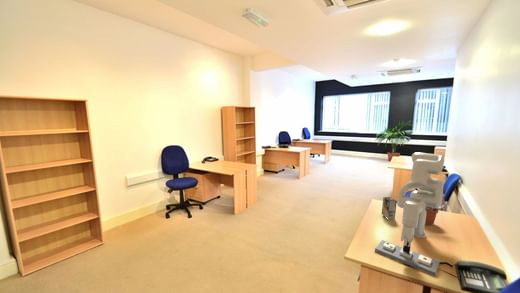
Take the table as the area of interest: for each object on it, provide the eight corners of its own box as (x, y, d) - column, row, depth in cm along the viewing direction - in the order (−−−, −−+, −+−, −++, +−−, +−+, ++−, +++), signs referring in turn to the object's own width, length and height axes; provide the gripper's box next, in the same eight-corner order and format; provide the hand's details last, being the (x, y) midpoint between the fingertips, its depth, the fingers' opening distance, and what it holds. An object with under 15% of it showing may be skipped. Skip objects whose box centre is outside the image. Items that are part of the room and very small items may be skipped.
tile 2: (385, 246, 143) (385, 241, 142) (395, 250, 139) (395, 245, 138) (382, 250, 139) (383, 245, 138) (392, 254, 135) (393, 248, 134)
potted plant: (417, 216, 189) (422, 176, 185) (439, 223, 177) (445, 181, 172) (409, 220, 181) (414, 179, 176) (431, 228, 168) (437, 184, 163)
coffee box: (395, 219, 182) (397, 200, 180) (387, 219, 182) (389, 201, 179) (388, 214, 191) (389, 196, 189) (381, 214, 191) (382, 197, 188)
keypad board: (382, 242, 148) (382, 239, 148) (439, 264, 127) (439, 261, 127) (374, 251, 138) (375, 248, 138) (435, 276, 117) (435, 272, 117)
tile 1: (419, 260, 130) (419, 254, 129) (431, 264, 126) (431, 258, 126) (417, 264, 126) (417, 258, 126) (429, 269, 122) (430, 263, 122)
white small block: (401, 253, 136) (402, 247, 136) (412, 257, 132) (413, 251, 132) (399, 257, 132) (399, 251, 132) (410, 261, 128) (410, 255, 128)
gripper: (405, 216, 137) (402, 244, 139) (398, 224, 127) (395, 254, 129) (420, 220, 132) (416, 249, 134) (414, 229, 121) (410, 260, 124)
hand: (406, 251), depth 132 cm, fingers closed
